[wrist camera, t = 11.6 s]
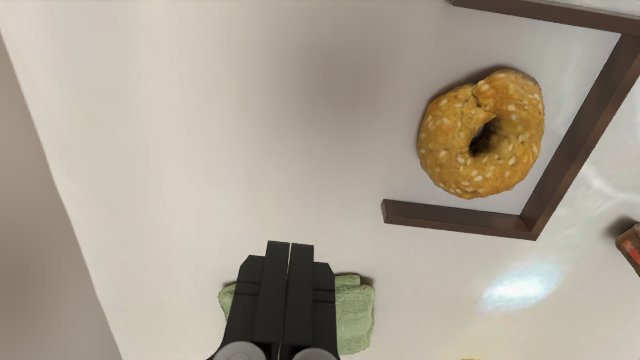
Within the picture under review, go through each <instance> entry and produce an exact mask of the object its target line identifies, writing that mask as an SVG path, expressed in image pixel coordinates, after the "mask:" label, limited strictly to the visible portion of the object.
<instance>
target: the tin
mask: <svg viewBox="0 0 640 360" xmlns="http://www.w3.org/2000/svg"><path fill="white" fill-rule="evenodd" d="M615 244H616V247H617V249H618V250H619V251H621V253H622V254H623V255H624V257H625V258H626V259H627V260H628V262H629V263H630V264H631V265H632V267H633V268H634V270H635V271H636V273H637V274H638V276H639V277H640V224H639V223H637V224H635V225H634V226H633V227H632V228H631V229H629V230H628V231H626V232H625V233H623V234H622V235H620V236H619V237H618V238H617V239H616V241H615Z"/></svg>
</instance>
